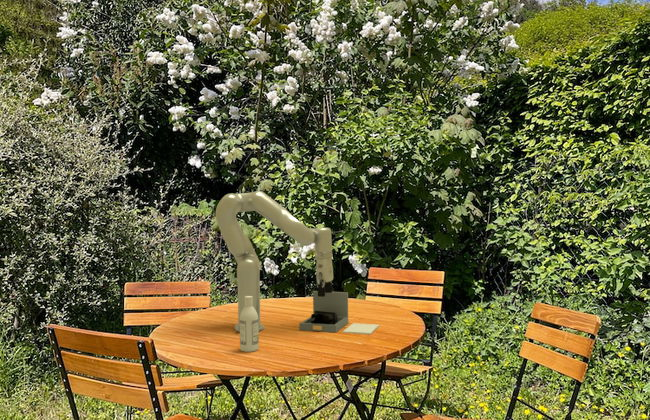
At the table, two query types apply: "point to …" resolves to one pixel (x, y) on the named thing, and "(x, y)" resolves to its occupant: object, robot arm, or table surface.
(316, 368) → the table surface
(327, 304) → the equipment case
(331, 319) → the end cap
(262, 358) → the table surface
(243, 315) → the bath foam
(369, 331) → the grey mat
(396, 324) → the table surface
